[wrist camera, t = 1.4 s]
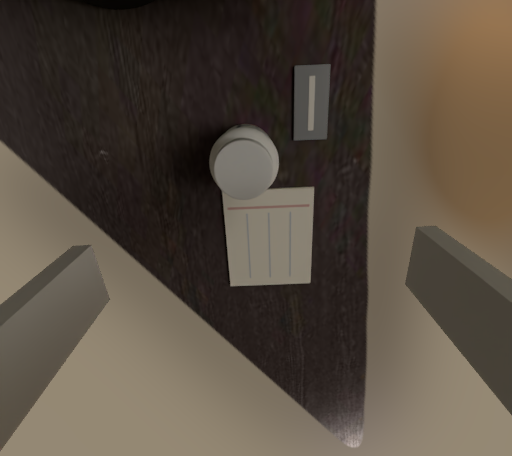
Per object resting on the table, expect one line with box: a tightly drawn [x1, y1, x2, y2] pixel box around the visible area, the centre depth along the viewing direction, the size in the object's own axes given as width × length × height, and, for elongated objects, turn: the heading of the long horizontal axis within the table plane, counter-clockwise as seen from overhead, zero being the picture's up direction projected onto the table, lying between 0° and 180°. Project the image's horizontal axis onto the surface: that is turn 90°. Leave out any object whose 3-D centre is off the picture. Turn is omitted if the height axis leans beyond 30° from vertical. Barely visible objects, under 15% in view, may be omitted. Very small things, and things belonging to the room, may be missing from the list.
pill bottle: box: [209, 124, 279, 200], centre depth 23 cm, size 5×5×9 cm
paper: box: [222, 187, 314, 286], centre depth 30 cm, size 11×9×1 cm
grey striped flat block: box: [294, 64, 331, 140], centre depth 25 cm, size 6×3×1 cm, turn 2°
